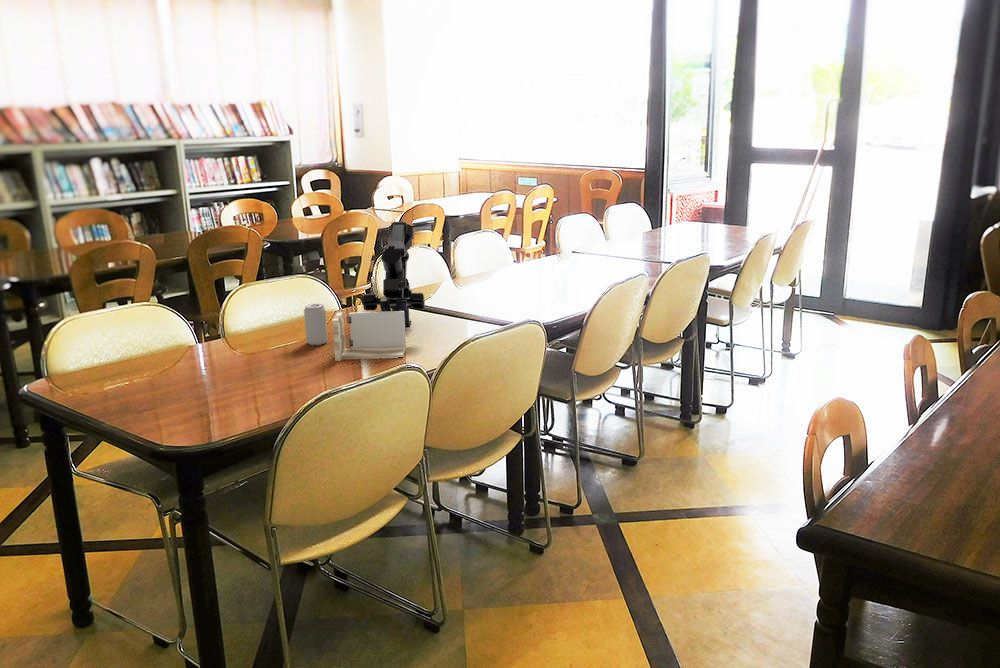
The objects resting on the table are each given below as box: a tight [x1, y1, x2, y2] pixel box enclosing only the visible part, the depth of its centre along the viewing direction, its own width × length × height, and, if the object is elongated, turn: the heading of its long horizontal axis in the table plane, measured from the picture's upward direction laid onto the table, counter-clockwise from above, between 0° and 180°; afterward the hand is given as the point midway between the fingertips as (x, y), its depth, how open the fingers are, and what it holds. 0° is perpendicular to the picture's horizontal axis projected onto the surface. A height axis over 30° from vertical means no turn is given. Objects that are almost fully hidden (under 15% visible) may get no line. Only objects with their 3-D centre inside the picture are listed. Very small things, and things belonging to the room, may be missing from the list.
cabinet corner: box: [331, 311, 406, 362], centre depth 232 cm, size 10×19×12 cm, turn 92°
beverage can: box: [303, 303, 329, 346], centre depth 246 cm, size 6×6×12 cm
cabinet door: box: [346, 310, 407, 349], centre depth 238 cm, size 2×17×11 cm, turn 93°
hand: (392, 325), depth 242 cm, fingers closed
